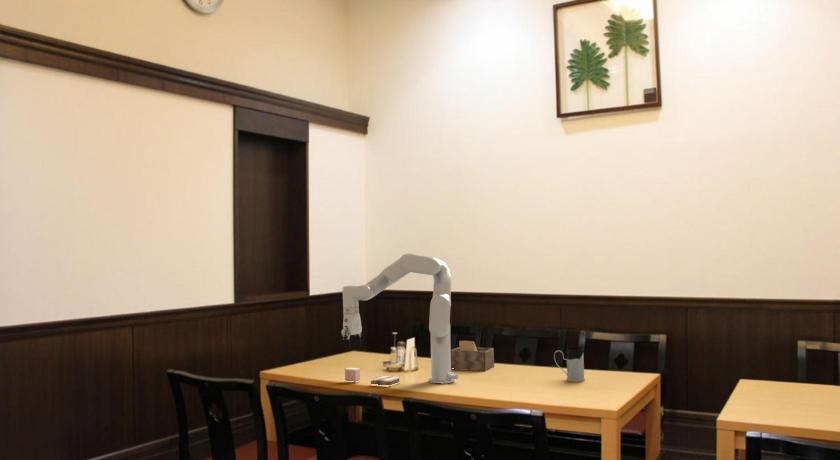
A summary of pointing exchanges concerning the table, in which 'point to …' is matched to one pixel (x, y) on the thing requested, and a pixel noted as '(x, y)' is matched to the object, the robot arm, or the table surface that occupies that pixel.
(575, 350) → the glass holder
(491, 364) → the brown storage basket
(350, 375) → the pink block
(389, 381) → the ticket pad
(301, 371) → the table surface
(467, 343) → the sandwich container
